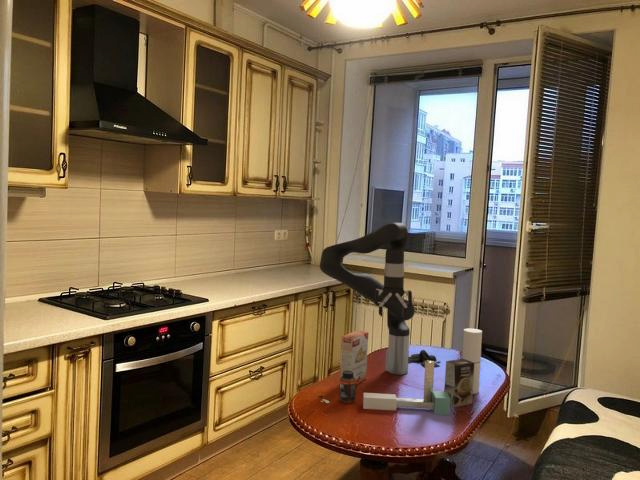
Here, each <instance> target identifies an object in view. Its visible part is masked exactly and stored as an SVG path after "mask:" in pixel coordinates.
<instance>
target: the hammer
mask: <svg viewBox="0 0 640 480" xmlns="http://www.w3.org/2000/svg"><path fill="white" fill-rule="evenodd" d="M434 363H435V362H434V361H429V360H428V361H425V368H424V378H423V379H424V381H423V383H424V384H423V398H408V397H407V398H406V397H396V398H397V405H396V408H404V409H405V408H406V409H422V410H423V409H424V410H433V409H434V403H435V402H434V400H432V398H433V391H434V377H435V376H434V374H435V367H434Z"/></svg>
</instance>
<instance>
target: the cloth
mask: <svg viewBox="0 0 640 480" xmlns="http://www.w3.org/2000/svg"><path fill="white" fill-rule="evenodd" d="M428 360H429V361H434V368H439V367H441V365H440V363H442V362H441V360H440V361H437V357H436V356H435V355H433V354H432V355H431V354H428V352H427V351H426V350H425V349H422V350H420V352H419V353H414V354H411V355H410V356H409V358H408V365H409V364H414V363H416V364H419V363H421V366H422V367H423V368H424V369H425V361H428Z"/></svg>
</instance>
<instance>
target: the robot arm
mask: <svg viewBox="0 0 640 480" xmlns="http://www.w3.org/2000/svg"><path fill="white" fill-rule="evenodd" d="M408 235H409V233H408V228H407V226H406V224H404V223H403V222H390V223H387V224H384V225H382V226H381V227H380V228H378V229H376V230H375V231H372V232H370V233H367V234H365V235H363V236H360V237H358V238H356V239H353V240H349V241H344V242H340V243H336V244H333V245H330V246H326V247H325V248H324V249H322V252H321V255H320V256H321V257H320V261H319V269H320V271H321V272H322V273H324V274H325V275H326V276H328V277H329V278H331V279H334V280H336V281H338V282H340V283H342V284H344V285H345V286H347V287H348V288H350V289H352V290H353V291H355V292H356V293H358V294H359V295H361V296H362V297H363V298H365V299H366V300H369V301H371V302H372V303H374V306H377V307H378V315H380V317H383V310H384V308H386V309H387V311H386V314H387V315H386V323H387V330H388V344H387V345H388V347H387V348H388V349H386V350H385V371H386V372H387V373H389V374H392V375H398V376H399V375H401V376H402V375H406V374H408V372H409V364H408V358H409V357H410V356H409V354H410V333H411V332H410V327H409V326H408V325H407V323H406V321H410V320H411V319H412V318H414V316H415V307H414V304H413V295H412V294H413V292H412V290H411V289H407V290H405V289H404V286H405V280H404V279H405V266H404V265H405V264H404V263H405V250H406V246H407V241H408ZM388 244H389V247H387V248H386V249H385V259H384V261H385V263H384V270H383V271H384V272H383V274H384V275H383V283H382V282H380V281H379V280H378V279H377V278H375V277H373V276H372V275H371V274H369V273H366V272H365V273H364V272H358V273H357V272H355V273H354V272H352V271H349V270H348V269H346V268H345V267H344V266H343V263H344V257H346V256H349V255H350V254H352V253H354V254H355V253H356V254H363V255H365V254H371V253H372V252H373V253H374V252H375V251H378V250H380V249H382V248H384V247H385V246H386V245H388ZM404 295H406V297H407V298H403V296H404Z"/></svg>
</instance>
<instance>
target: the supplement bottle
mask: <svg viewBox="0 0 640 480" xmlns="http://www.w3.org/2000/svg"><path fill="white" fill-rule="evenodd" d="M339 381H340V385H339V401H340V402H341V403H344V404H352V403H355V402H356V388H357V385H356V379H355V377H353V371H350V370H346V371H343V376H342V377H341V378H340V377H339Z"/></svg>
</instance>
